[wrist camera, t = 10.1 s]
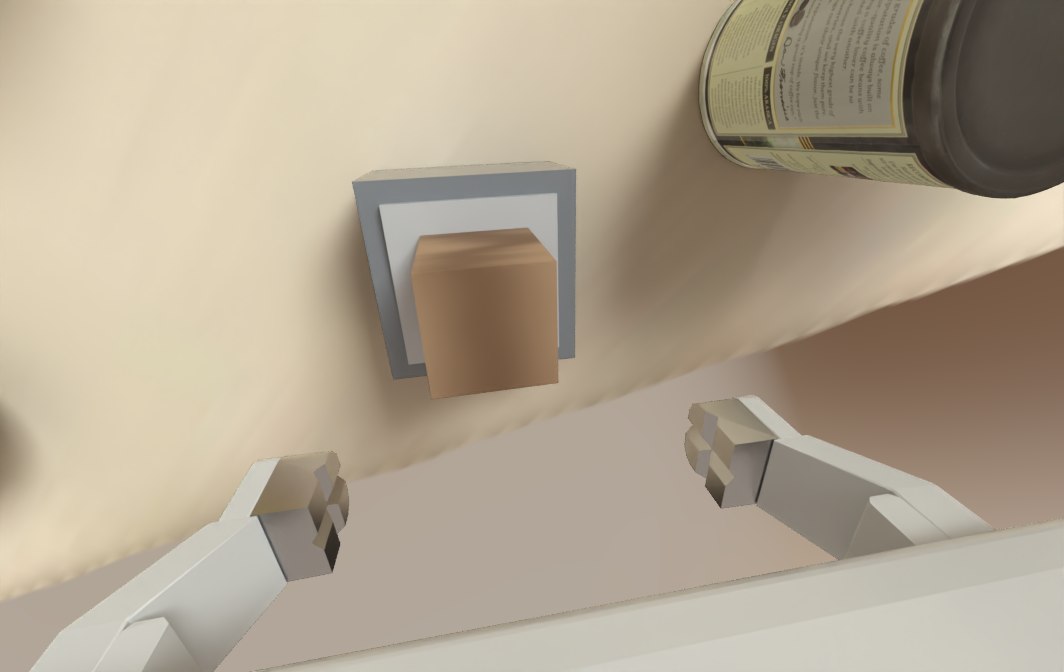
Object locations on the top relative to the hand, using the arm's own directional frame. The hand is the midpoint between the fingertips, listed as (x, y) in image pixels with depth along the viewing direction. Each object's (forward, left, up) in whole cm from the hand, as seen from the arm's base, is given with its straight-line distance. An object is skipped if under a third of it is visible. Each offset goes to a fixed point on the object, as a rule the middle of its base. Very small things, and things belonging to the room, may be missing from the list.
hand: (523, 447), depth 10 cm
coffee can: (-19, -9, -19) cm, 28 cm away
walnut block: (0, 0, -13) cm, 13 cm away
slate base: (0, 0, -19) cm, 19 cm away
